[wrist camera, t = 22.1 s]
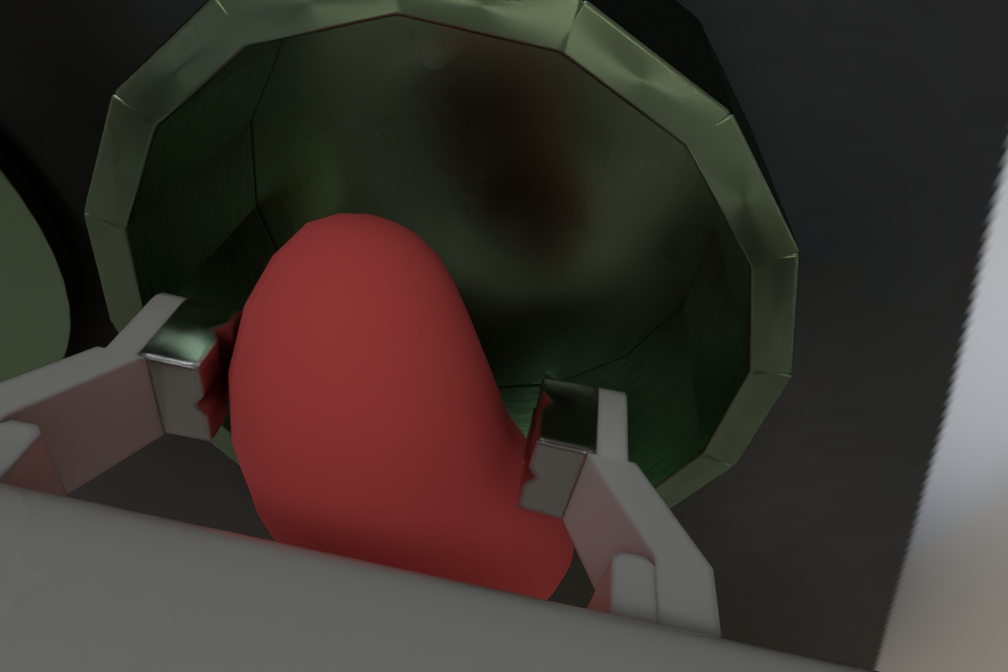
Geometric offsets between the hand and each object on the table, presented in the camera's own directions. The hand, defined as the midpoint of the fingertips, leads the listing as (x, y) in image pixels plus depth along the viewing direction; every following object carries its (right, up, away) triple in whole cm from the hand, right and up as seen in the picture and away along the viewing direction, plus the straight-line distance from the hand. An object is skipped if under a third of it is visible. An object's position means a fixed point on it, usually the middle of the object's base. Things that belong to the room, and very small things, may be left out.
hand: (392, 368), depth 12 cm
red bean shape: (+1, 0, +3) cm, 3 cm away
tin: (+1, +4, +6) cm, 7 cm away
